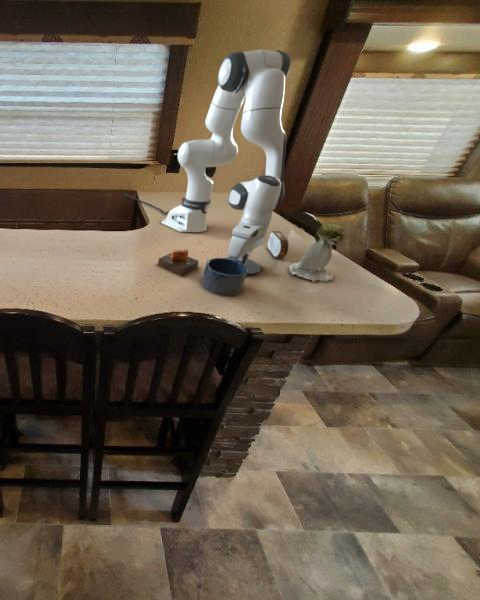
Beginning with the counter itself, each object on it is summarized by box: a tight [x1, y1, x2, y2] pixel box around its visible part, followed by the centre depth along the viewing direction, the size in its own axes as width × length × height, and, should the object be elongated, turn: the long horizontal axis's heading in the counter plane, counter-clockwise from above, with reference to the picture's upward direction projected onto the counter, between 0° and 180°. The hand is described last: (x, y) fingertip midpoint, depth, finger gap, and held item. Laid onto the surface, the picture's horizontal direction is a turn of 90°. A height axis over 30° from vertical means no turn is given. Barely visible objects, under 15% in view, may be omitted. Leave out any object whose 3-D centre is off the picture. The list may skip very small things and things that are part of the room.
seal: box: [171, 249, 189, 261], centre depth 110 cm, size 6×2×4 cm, turn 84°
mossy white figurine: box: [289, 223, 345, 283], centre depth 102 cm, size 12×13×18 cm
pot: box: [201, 257, 248, 296], centre depth 99 cm, size 13×18×8 cm
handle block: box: [157, 252, 200, 277], centre depth 112 cm, size 11×10×3 cm
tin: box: [266, 230, 289, 259], centre depth 119 cm, size 15×3×8 cm, turn 168°
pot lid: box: [226, 253, 262, 276], centre depth 111 cm, size 14×14×6 cm
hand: (241, 261), depth 111 cm, fingers closed on pot lid, 2 cm apart
